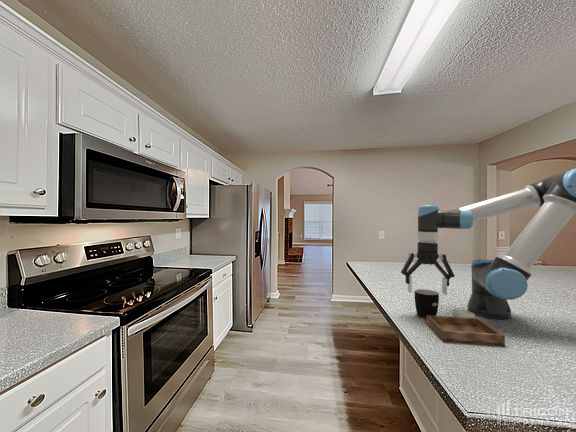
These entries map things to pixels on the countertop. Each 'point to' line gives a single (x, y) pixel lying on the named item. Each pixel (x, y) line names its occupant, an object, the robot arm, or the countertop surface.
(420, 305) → the mug
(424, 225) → the robot arm
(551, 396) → the countertop surface
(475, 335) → the walnut tray
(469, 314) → the pale green curved piece
